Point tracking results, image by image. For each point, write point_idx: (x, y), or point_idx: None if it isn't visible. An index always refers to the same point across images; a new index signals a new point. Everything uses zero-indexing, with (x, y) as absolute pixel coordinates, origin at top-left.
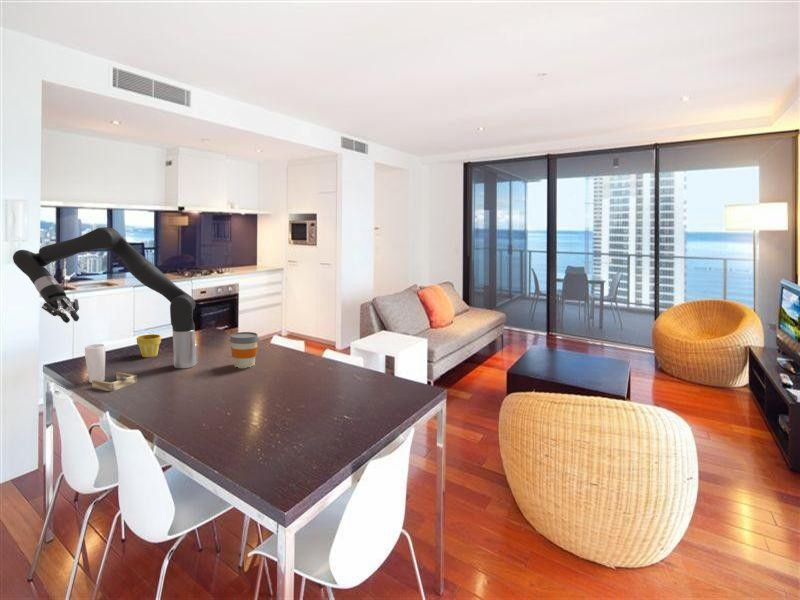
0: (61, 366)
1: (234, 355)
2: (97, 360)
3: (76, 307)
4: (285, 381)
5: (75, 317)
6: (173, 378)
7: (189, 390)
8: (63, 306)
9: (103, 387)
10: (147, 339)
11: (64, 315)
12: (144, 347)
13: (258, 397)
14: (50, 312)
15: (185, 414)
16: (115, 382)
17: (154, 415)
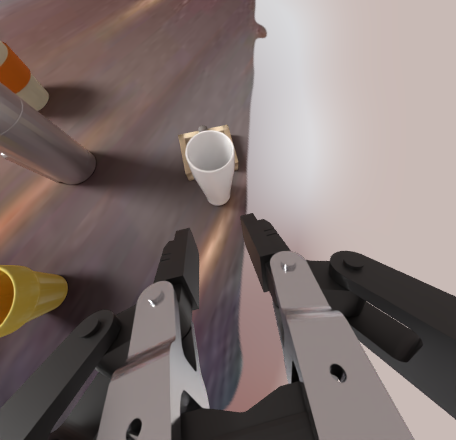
0: (217, 368)
1: (24, 74)
2: (218, 154)
3: (83, 348)
4: (73, 23)
5: (190, 245)
6: (138, 123)
7: (161, 71)
8: (249, 416)
9: None
10: (9, 272)
11: (269, 242)
12: (42, 282)
13: (134, 10)
14: (401, 329)
15: (213, 23)
16: (218, 127)
17: (234, 39)
